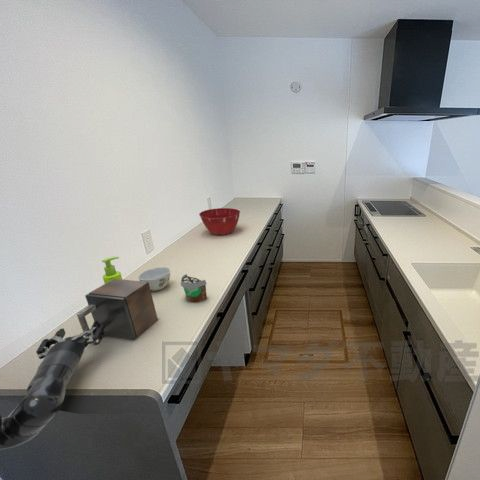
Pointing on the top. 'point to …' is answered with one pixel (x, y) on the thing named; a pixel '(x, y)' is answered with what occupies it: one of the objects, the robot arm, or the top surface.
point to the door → (108, 316)
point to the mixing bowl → (220, 220)
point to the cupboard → (132, 301)
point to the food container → (194, 288)
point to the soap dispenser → (110, 270)
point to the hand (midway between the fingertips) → (80, 326)
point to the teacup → (156, 278)
